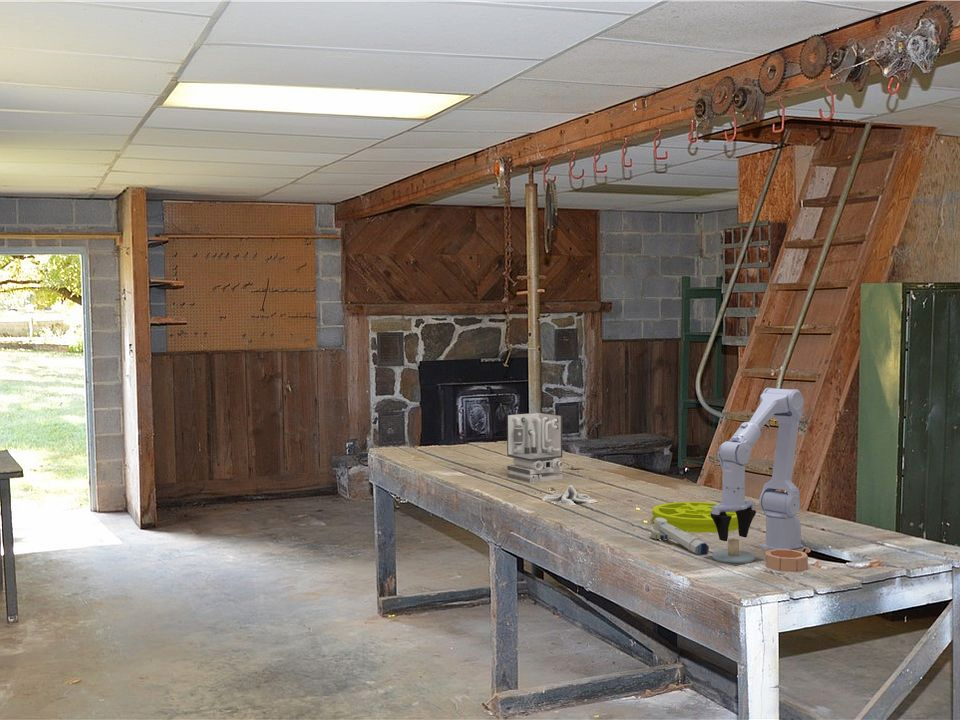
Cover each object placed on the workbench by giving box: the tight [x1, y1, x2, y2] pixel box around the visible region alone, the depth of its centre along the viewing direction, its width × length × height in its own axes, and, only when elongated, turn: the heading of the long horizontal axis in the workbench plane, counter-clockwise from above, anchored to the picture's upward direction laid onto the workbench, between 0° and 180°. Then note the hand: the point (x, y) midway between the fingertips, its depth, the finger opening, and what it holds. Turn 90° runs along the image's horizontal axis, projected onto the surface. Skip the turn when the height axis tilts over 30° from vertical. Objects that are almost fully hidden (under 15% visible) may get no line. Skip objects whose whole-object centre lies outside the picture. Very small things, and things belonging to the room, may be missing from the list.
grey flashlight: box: [649, 517, 710, 556], centre depth 275 cm, size 5×7×25 cm
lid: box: [711, 538, 756, 565], centre depth 259 cm, size 11×11×5 cm
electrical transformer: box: [506, 412, 563, 484], centre depth 389 cm, size 16×19×25 cm
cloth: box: [541, 484, 598, 506], centre depth 341 cm, size 22×19×6 cm
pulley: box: [652, 501, 738, 533], centre depth 306 cm, size 28×28×5 cm
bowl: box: [764, 549, 809, 572], centre depth 251 cm, size 10×10×4 cm
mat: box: [703, 555, 764, 567], centre depth 259 cm, size 11×11×1 cm
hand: (733, 538), depth 259 cm, fingers open, 7 cm apart
